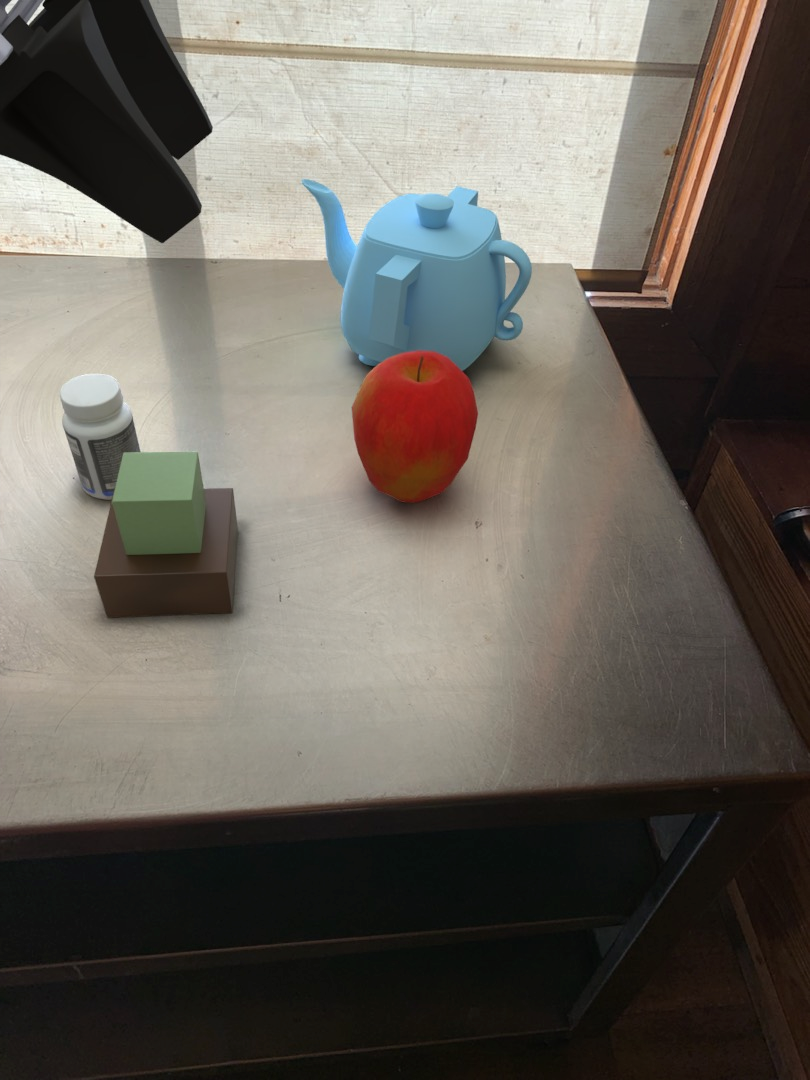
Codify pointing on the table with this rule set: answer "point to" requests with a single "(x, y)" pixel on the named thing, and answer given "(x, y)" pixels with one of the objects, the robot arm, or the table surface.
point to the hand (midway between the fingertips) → (189, 181)
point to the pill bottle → (97, 430)
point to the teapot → (423, 276)
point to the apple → (414, 424)
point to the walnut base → (172, 569)
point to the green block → (160, 503)
